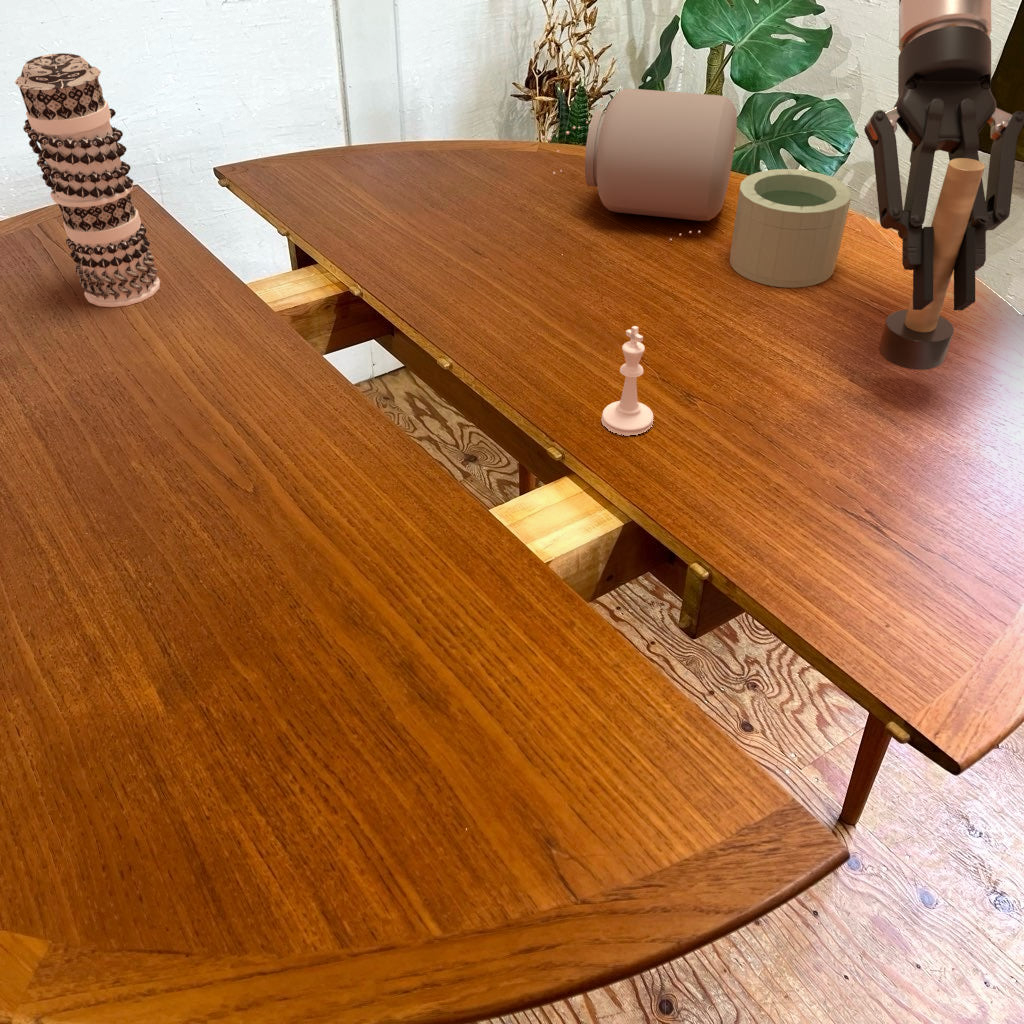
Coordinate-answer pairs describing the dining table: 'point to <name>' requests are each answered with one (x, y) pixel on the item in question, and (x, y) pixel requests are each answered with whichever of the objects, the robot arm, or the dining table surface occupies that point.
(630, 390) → the chess piece
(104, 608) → the dining table surface
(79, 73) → the decorative candle
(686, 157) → the jar
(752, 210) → the gray beige cylindrical container
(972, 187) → the brush
